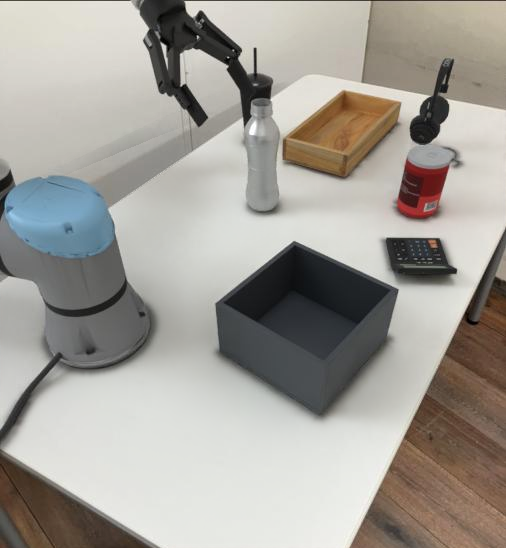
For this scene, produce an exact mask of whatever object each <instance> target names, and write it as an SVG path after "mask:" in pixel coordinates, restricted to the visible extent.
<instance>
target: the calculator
mask: <svg viewBox="0 0 506 548" xmlns="http://www.w3.org/2000/svg"><path fill="white" fill-rule="evenodd" d="M385 244H386V249H387V254H388V257H389V262H390V267H391V269H392V270H394V271H395V272H396V273H397V274H399V275H400V274H404V275H411V274H414V275H457V274H458V268H457V267H455V266H454V265H451V264H449V261H448V259H447V256H446V253H445V250H444V246H443V245H442V241H441V238H440V237H386V238H385Z"/></svg>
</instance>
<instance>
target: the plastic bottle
mask: <svg viewBox="0 0 506 548" xmlns="http://www.w3.org/2000/svg"><path fill="white" fill-rule="evenodd" d="M251 115H252V117H251V118H250V120H249V121H248V123H247V124H246V126H245V129H244V128H243V140H244V145H245V146H244V147H245V151H246V159H247V179H246V180H247V181H246V187H245V199H246V202H247V203H246V204H248V206H249V207H250V208H251V209H253V210H255V211H258V212H268V211H272V210H273V209H274V208H276V207H277V205H278V203H279V201H280V188H279V184H278V175H277V174H278V173H277V161H278V151H279V144H280V137H281V132H280V129H279V126H278V124H277V122H276V121H275V119H274V118H273V117H272V116H273V115H274V110H273V101H272V100H271V99H270V100H269V99H264V98H260V99H255V100H253V101H252V102H251Z"/></svg>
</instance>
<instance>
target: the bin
mask: <svg viewBox="0 0 506 548" xmlns="http://www.w3.org/2000/svg"><path fill="white" fill-rule="evenodd" d="M399 292H400V289H399V288H398V287H395V286H393V285H391V284H389V283H387V282H385V281H383V280H380V279H378V278H376V277H373V276H372V275H369V274H367V273H365V272H362V271H361V270H359V269H356V268H354V267H352V266H350V265H348V264H345V263H344V262H341V261H339V260H337V259H335V258H333V257H330V256H328V255H326V254H324V253H322V252H320V251H317V250H315V249H312V248H311V247H309V246H306V245H304V244H302V243H300V242H298V241H296V240H293V241H292V242H290V243H289V244H288V245H286V246H285V247H284V248H283V249H282V250H280V251H279V252H278V253H277V254H275V255H274V256H273V257H272V258H270V259H269V260H268V261H267V262H265V263H264V264H263V265H261V266H260V267H259V268H257V269H256V270H255V271H254V272H253V273H251V274H250V275H249V276H247V277H246V278H245V279H244V280H243V281H241V282H240V283H239V284H237V286H235V287H234V288H232V289H231V290H230V291H228V293H226V294H225V295H224V296H222V297H221V298H219V300H217V301H216V302H215V303H214V306H215V307H214V308H215V318H216V328H217V335H218V336H217V337H218V338H217V339H218V348H219V353H220V354H222V355H223V356H225V357H227V358H228V359H230V360H231V361H233V362H235V363H236V364H237V365H239V366H241V367H243V369H245V370H247V371H248V372H251V373H252V374H253V375H255V376H257V377H258V378H260V379H261V380H263V381H265V382H266V383H267V384H269V385H271V386H272V387H274V388H276V389H277V390H279V391H280V392H282V393H284V394H285V395H287V397H289V398H290V399H292V400H295V401H296V402H298V403H299V404H301V405H302V406H304V407H306V408H307V409H309V410H310V411H312V412H313V413H315V414H316V415H318V416H320V415H321V414H322V413H323V412H324V410H326V408H327V407H328V406H329V405H330V404H331V402H333V400H335V398H336V397H337V396H338V394H340V392H341V391H342V390H343V389H344V388H345V387H346V386H347V384H348V383H349V382H350V381H352V379H353V378H354V376H355V375H357V373H358V372H359V371H360V369H361V368H362V367H363V366H364V365H365V364H366V363H367V361H368V360H369V359H370V358H371V357H372V356H373V355H374V353H375V352H376V351H377V350H378V349H379V348H380V346H382V344H383V343H384V342H385V341H386V340H387V338H388V333H389V330H390V326H391V323H392V318H393V316H394V312H395V307H396V302H397V298H398V295H399Z"/></svg>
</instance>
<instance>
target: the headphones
mask: <svg viewBox="0 0 506 548" xmlns="http://www.w3.org/2000/svg"><path fill="white" fill-rule="evenodd" d="M454 63H455V59H454V58H449V57H445V58H444V59H443V60H442V62H441V65H440V66H439V69H438V73H437V77H436V81H435V85H434V89H433V90H434V91H433V93H432V95H431V96H428V97H426V98H425V99H424V100H423V101H422V103H421V105H420V107H419V112H418V113H419V114H418V115H416V116H415V117H413V118H412V119H411V121H410V124H409V129H408V130H409V138H410V139H411V140H412V142H413V143H414V144H417V145H430V143H432V141H434V140H435V139H436V138H438V136H439V134H440V132H441V125H442V124H443V123H445V122H446V120H447V119H448V117H449V114H450V103H449V101H448V99H446V98H445V97H443V96H442V95H441V94H448V90H449V86H450V84H449V81H450V78H451V74H452V70H453V66H454ZM447 150H450V151H453V153H455V154H457V152H456V151H455V150H454V149H451V148H450V147H447ZM456 157H457V155H455V156H454V157H453V158H452V159H451V162H452V161H454V162H457V164H456V165H455V167H457V166H458V165H459V163H460V161H459V160H456Z"/></svg>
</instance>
